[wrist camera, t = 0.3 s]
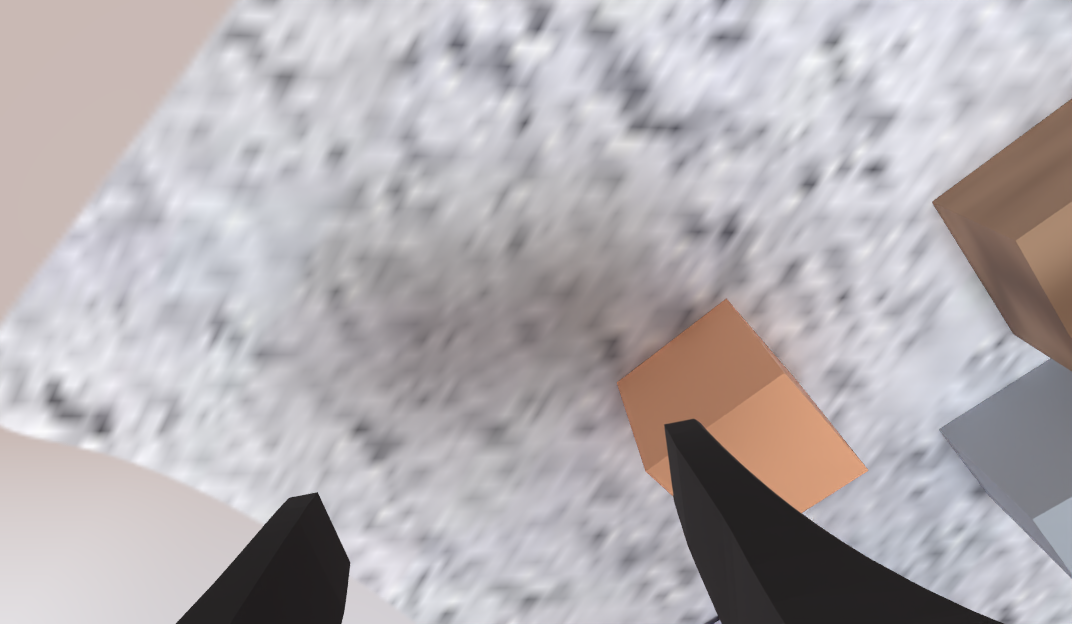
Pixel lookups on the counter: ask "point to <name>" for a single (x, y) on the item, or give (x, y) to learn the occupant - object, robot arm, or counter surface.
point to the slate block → (1025, 454)
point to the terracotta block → (737, 410)
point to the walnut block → (1023, 232)
